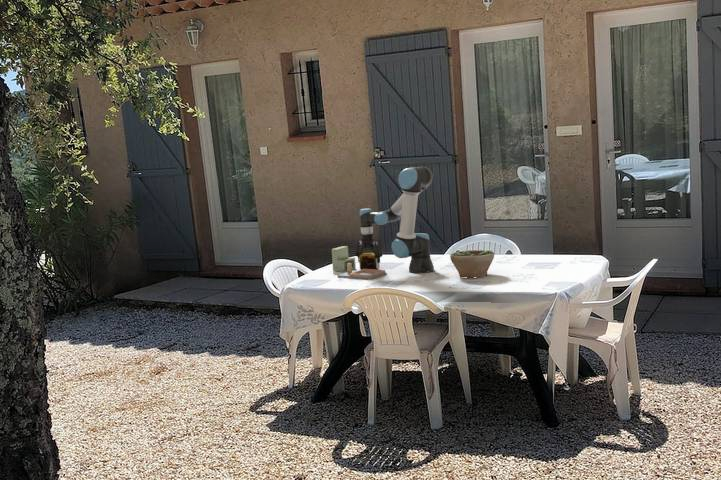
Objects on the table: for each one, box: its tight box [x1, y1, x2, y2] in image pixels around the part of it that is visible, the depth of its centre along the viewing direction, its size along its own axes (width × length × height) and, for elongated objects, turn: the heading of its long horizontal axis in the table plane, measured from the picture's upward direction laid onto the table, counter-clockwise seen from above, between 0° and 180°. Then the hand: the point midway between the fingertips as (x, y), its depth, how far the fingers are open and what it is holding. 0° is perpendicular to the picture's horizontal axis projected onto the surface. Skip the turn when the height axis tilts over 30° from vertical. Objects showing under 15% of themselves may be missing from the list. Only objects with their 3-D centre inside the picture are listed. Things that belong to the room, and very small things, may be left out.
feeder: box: [331, 245, 357, 273], centre depth 497 cm, size 9×12×14 cm
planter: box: [449, 249, 495, 279], centre depth 450 cm, size 26×25×15 cm
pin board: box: [337, 263, 388, 280], centre depth 473 cm, size 25×16×7 cm, turn 55°
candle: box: [359, 252, 379, 270], centre depth 488 cm, size 10×10×10 cm
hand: (369, 267), depth 489 cm, fingers closed on candle, 12 cm apart
